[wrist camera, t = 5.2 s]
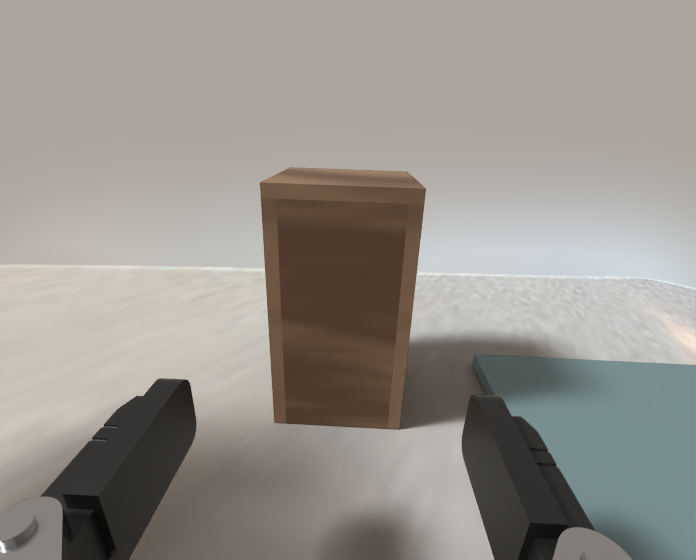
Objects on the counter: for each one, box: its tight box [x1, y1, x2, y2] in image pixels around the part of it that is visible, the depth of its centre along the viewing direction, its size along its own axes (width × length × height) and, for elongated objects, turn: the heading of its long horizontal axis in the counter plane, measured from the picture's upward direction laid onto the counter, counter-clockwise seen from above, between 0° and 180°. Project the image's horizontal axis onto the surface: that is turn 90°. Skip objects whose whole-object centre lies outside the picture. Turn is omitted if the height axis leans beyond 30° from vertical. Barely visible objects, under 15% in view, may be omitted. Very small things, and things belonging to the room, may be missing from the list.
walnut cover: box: [260, 167, 426, 429], centre depth 19 cm, size 6×6×12 cm
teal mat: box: [473, 354, 696, 560], centre depth 17 cm, size 14×14×1 cm
